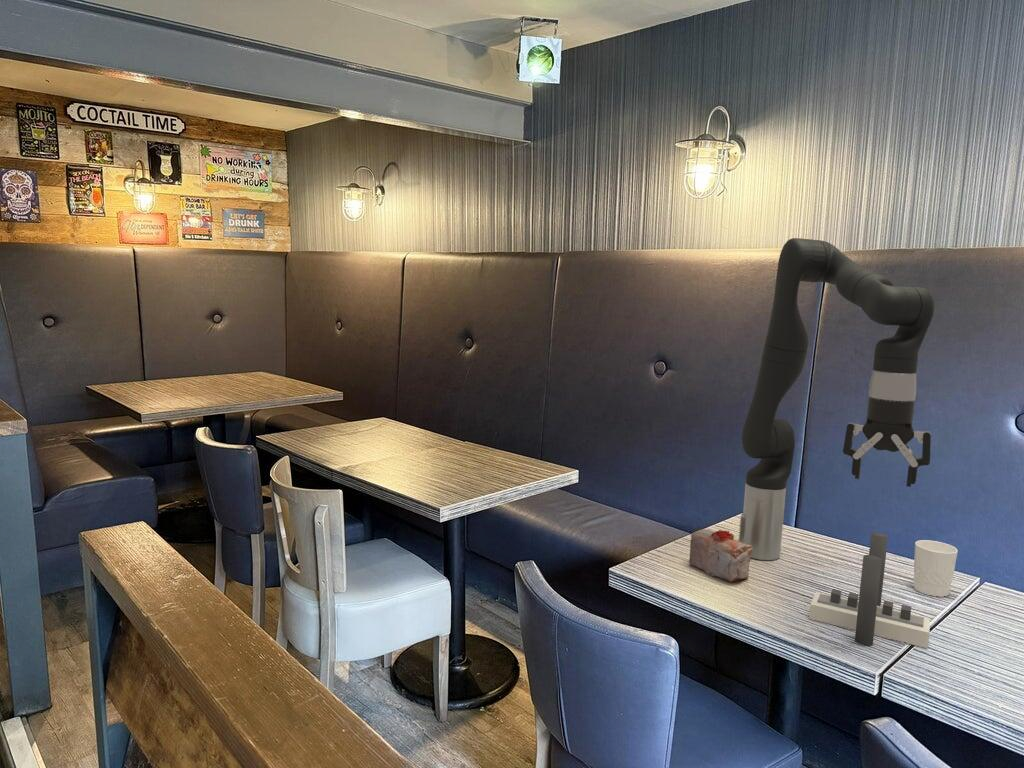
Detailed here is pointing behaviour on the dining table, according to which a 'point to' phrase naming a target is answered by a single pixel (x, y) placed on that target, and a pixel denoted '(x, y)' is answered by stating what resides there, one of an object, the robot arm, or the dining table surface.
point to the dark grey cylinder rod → (879, 549)
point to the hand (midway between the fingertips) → (882, 481)
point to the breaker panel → (886, 623)
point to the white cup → (934, 567)
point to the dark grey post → (868, 600)
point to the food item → (720, 554)
